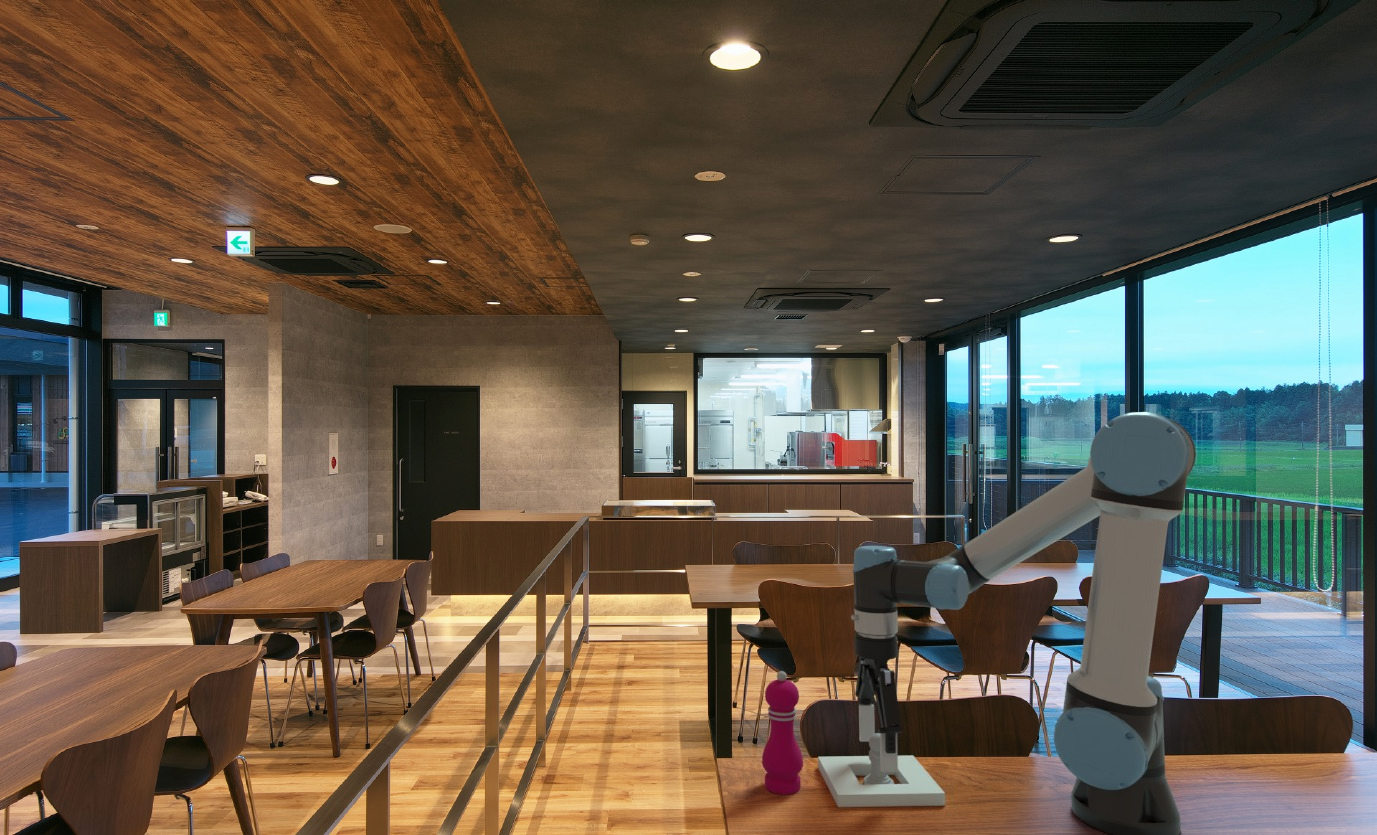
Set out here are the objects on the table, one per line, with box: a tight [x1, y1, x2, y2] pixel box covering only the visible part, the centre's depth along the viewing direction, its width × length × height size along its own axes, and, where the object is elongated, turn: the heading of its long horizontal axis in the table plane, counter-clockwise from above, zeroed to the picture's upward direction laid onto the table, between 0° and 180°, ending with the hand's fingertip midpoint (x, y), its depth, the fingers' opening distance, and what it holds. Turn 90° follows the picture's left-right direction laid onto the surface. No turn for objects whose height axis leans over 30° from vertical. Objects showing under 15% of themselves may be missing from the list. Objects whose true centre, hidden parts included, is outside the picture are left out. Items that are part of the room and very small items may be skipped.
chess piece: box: [862, 732, 895, 785], centre depth 132 cm, size 5×5×9 cm
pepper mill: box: [761, 670, 804, 795], centre depth 132 cm, size 7×7×20 cm
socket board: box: [817, 755, 946, 808], centre depth 132 cm, size 18×16×2 cm
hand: (877, 755), depth 132 cm, fingers open, 13 cm apart
